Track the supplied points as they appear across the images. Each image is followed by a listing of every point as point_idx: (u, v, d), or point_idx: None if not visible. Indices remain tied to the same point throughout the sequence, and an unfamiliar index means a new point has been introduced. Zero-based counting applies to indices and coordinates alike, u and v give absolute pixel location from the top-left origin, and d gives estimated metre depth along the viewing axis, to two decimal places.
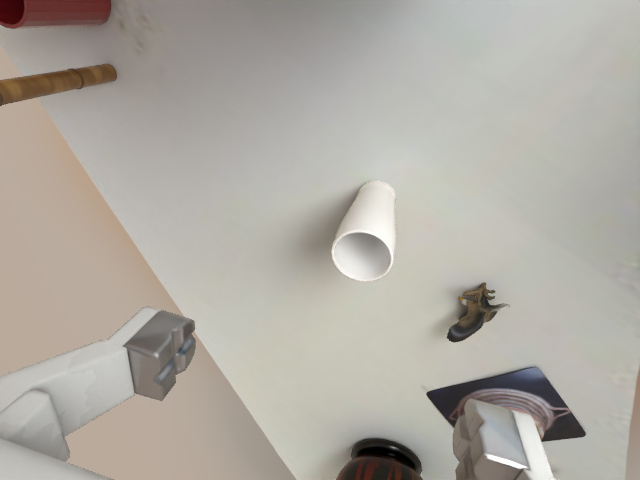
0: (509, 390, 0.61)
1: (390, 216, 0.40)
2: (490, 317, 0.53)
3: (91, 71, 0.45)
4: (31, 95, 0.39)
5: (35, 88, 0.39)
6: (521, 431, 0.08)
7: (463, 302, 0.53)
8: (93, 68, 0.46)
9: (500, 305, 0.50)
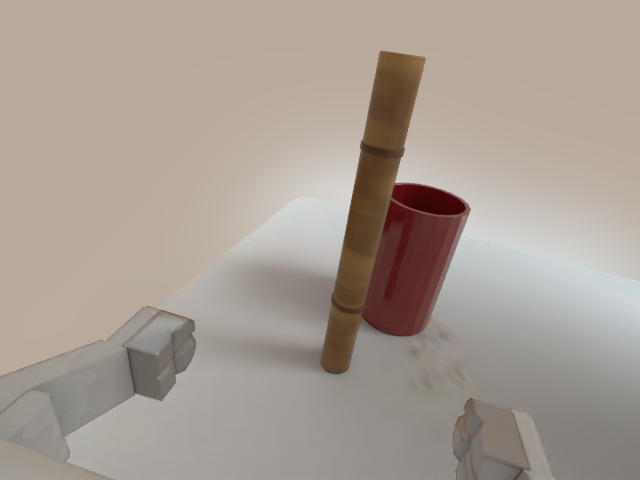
0: None
1: None
2: None
3: None
4: (375, 214, 0.20)
5: (382, 222, 0.20)
6: (521, 431, 0.08)
7: None
8: None
9: None
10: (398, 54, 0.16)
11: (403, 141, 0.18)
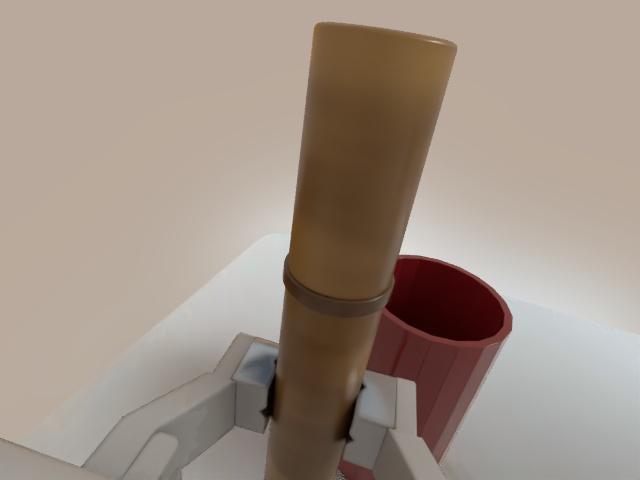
0: None
1: None
2: None
3: None
4: (325, 420, 0.08)
5: (345, 424, 0.09)
6: (399, 395, 0.09)
7: None
8: None
9: None
10: (367, 30, 0.04)
11: (390, 272, 0.07)
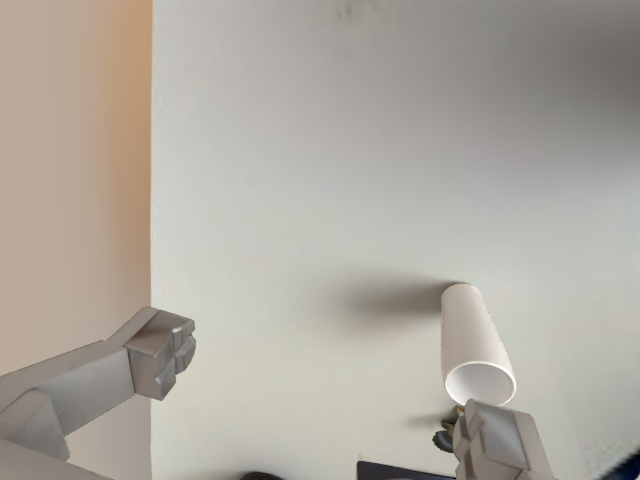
0: None
1: None
2: None
3: None
4: None
5: None
6: (521, 431, 0.08)
7: (461, 414, 0.55)
8: None
9: None
10: None
11: None
